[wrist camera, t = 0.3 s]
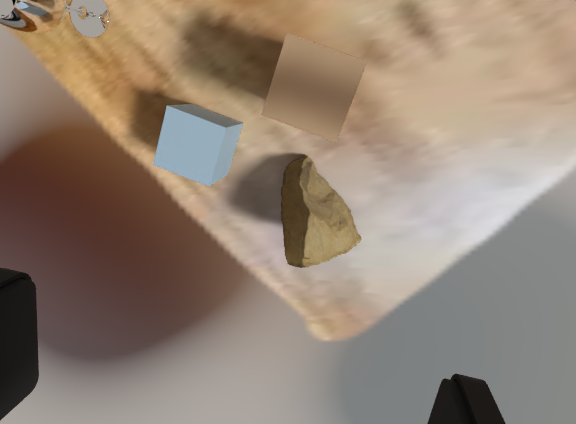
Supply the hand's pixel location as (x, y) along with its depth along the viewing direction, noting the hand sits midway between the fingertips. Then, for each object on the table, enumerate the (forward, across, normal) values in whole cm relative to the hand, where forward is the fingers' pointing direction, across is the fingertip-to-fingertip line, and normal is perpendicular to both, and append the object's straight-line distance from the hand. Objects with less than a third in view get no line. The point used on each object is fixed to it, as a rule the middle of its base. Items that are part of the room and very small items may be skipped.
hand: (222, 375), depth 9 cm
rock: (+35, -1, +5) cm, 36 cm away
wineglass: (+35, +27, -10) cm, 46 cm away
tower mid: (+29, +1, -6) cm, 30 cm away
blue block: (+35, +13, 0) cm, 37 cm away
